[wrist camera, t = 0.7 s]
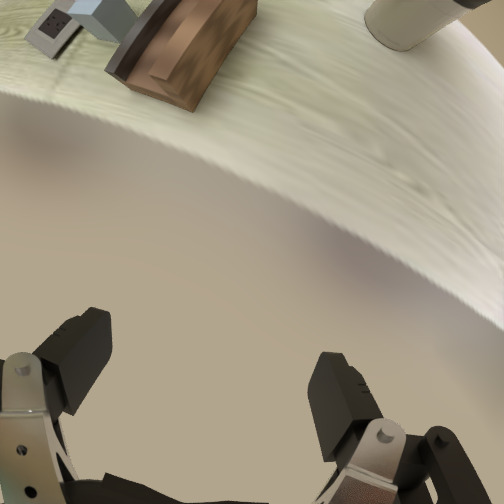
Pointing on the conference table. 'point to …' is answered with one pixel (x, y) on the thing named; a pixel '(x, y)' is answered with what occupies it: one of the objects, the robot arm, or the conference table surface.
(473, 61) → the conference table surface
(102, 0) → the cabinet block
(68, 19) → the electrical outlet
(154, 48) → the board
